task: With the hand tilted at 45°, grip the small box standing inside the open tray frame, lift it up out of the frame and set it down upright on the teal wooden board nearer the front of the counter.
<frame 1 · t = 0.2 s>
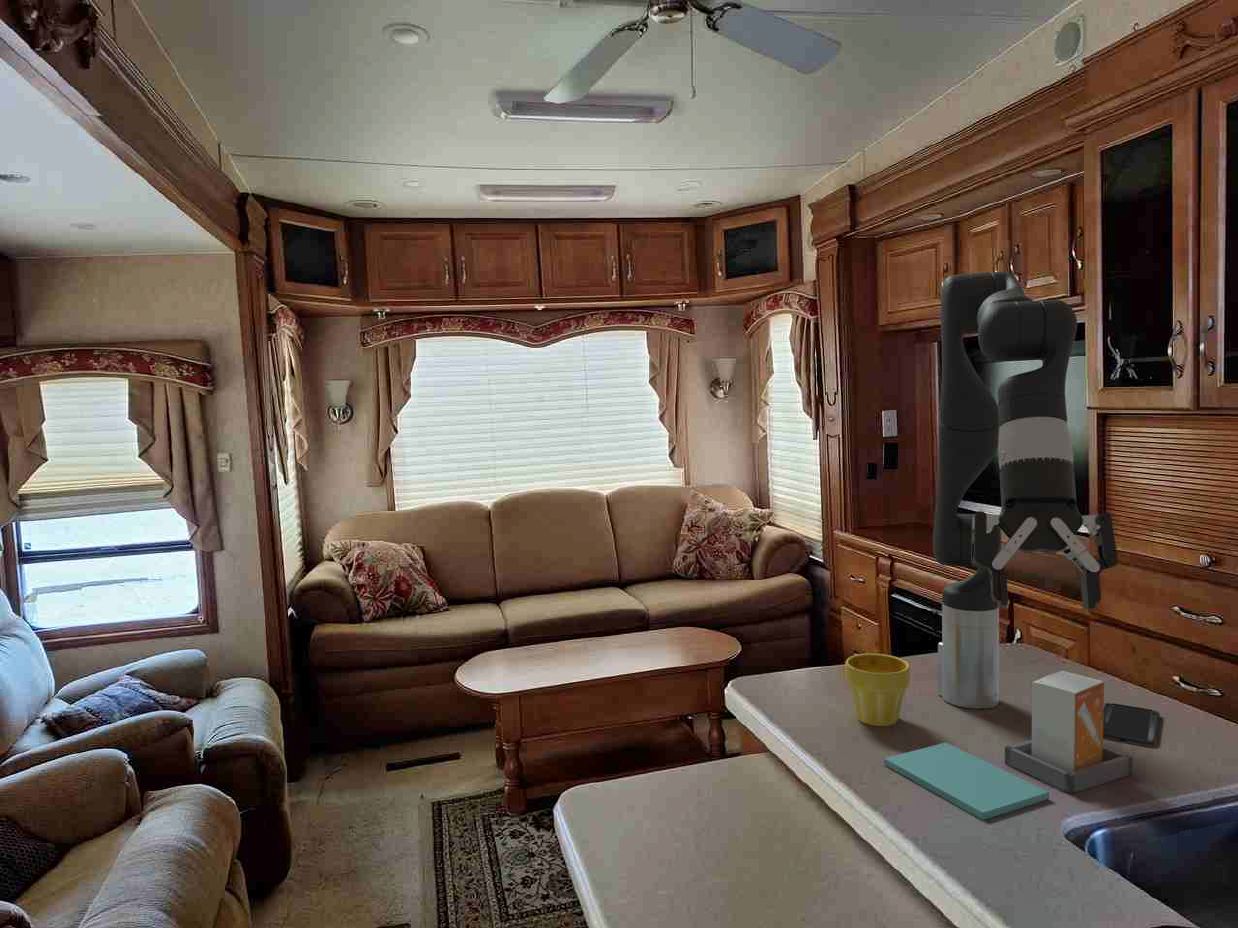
hand: (1045, 607, 89), 31 cm above the counter, tool tilted 20°, fingers open, 8 cm apart
small box: (1067, 770, 118), resting in tray frame
board: (962, 781, 115), on the counter
tray frame: (1067, 768, 118), on the counter
plant pot: (877, 720, 138), on the counter
phone: (1128, 728, 132), on the counter
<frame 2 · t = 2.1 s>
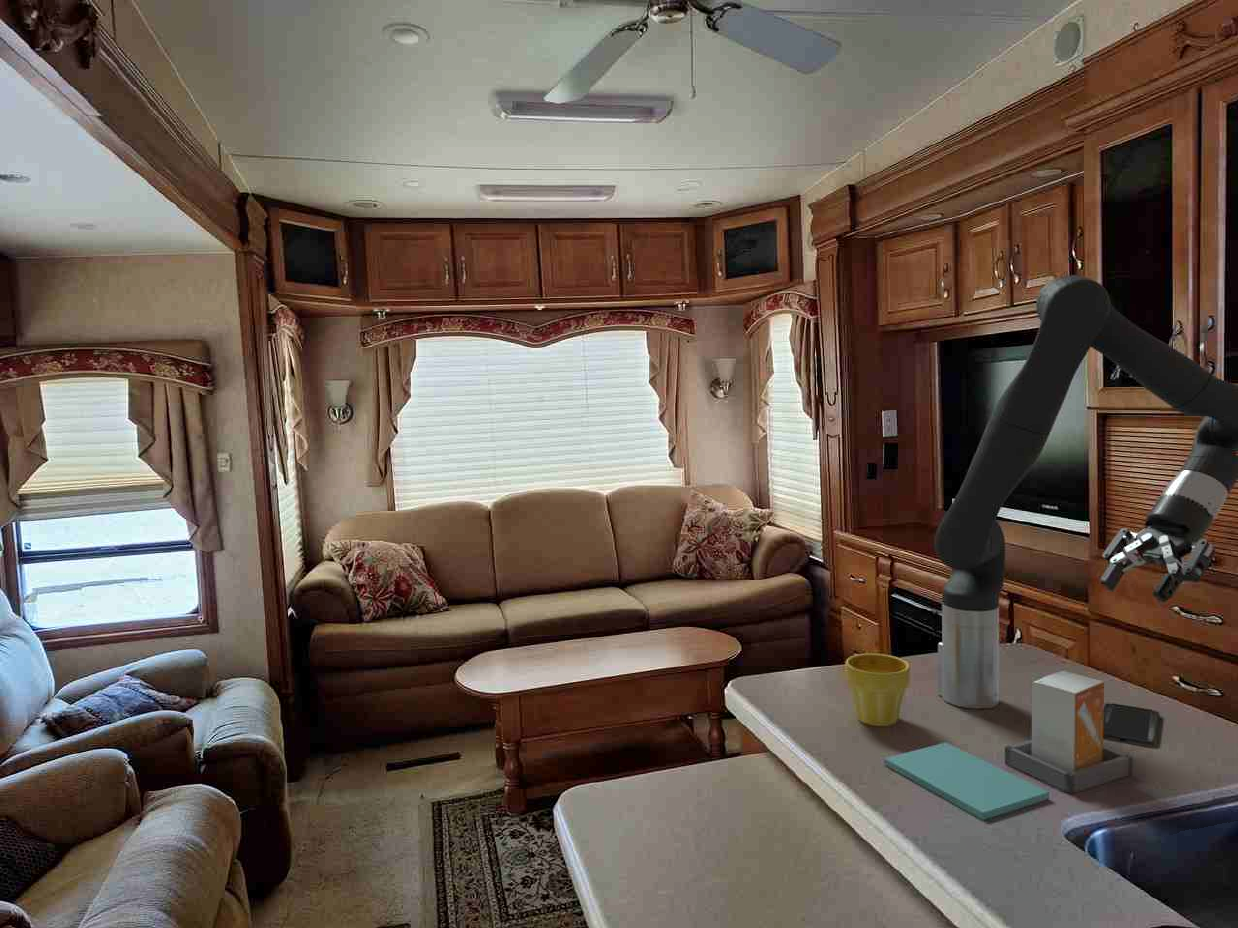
hand: (1131, 592, 121), 24 cm above the counter, tool tilted 45°, fingers open, 8 cm apart
nothing on the counter moved.
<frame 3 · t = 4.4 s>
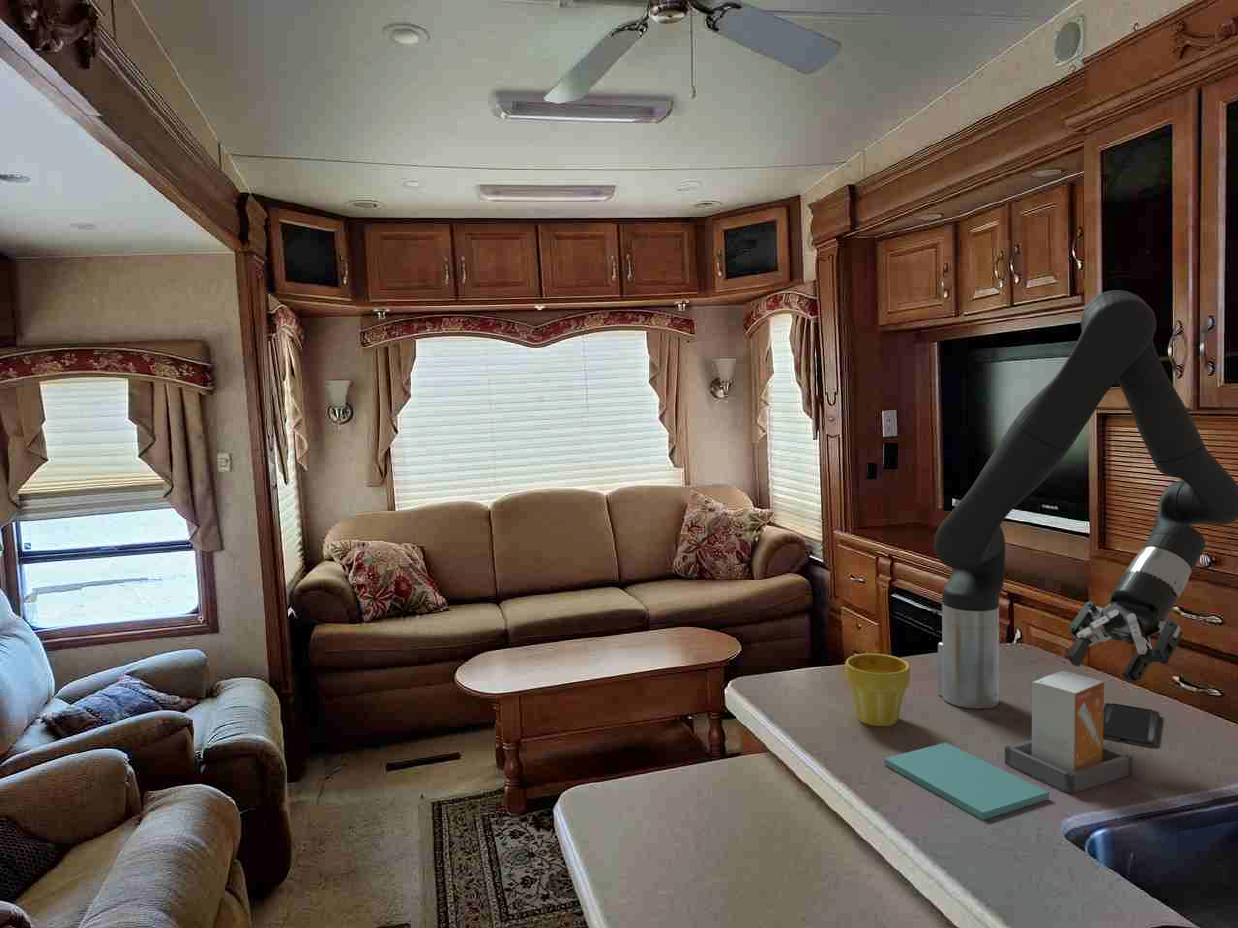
hand: (1099, 671, 120), 13 cm above the counter, tool tilted 45°, fingers open, 8 cm apart
nothing on the counter moved.
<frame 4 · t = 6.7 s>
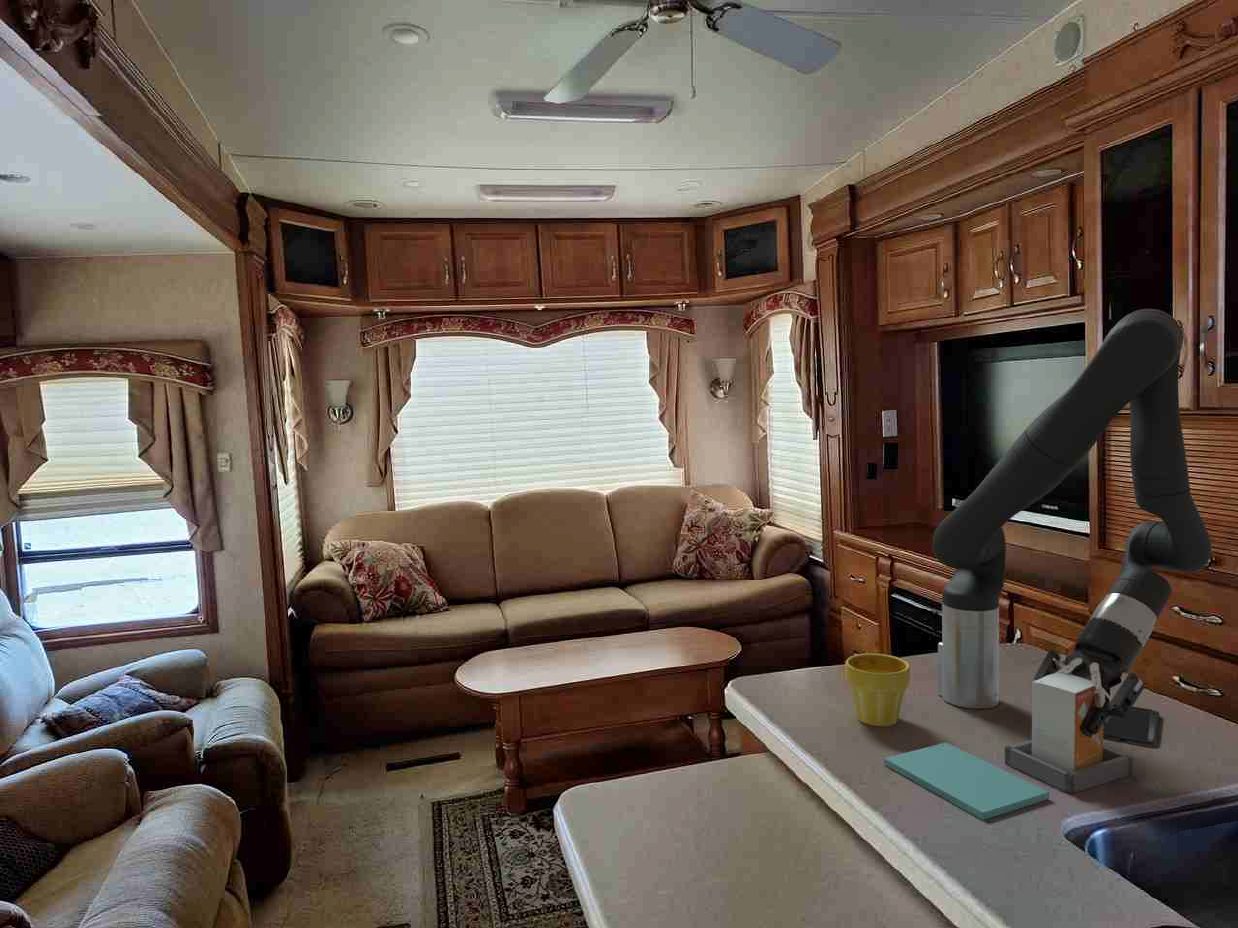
hand: (1060, 723, 117), 7 cm above the counter, tool tilted 45°, fingers closed on small box, 7 cm apart
small box: (1067, 770, 118), resting in tray frame, touching gripper
everything else where it was.
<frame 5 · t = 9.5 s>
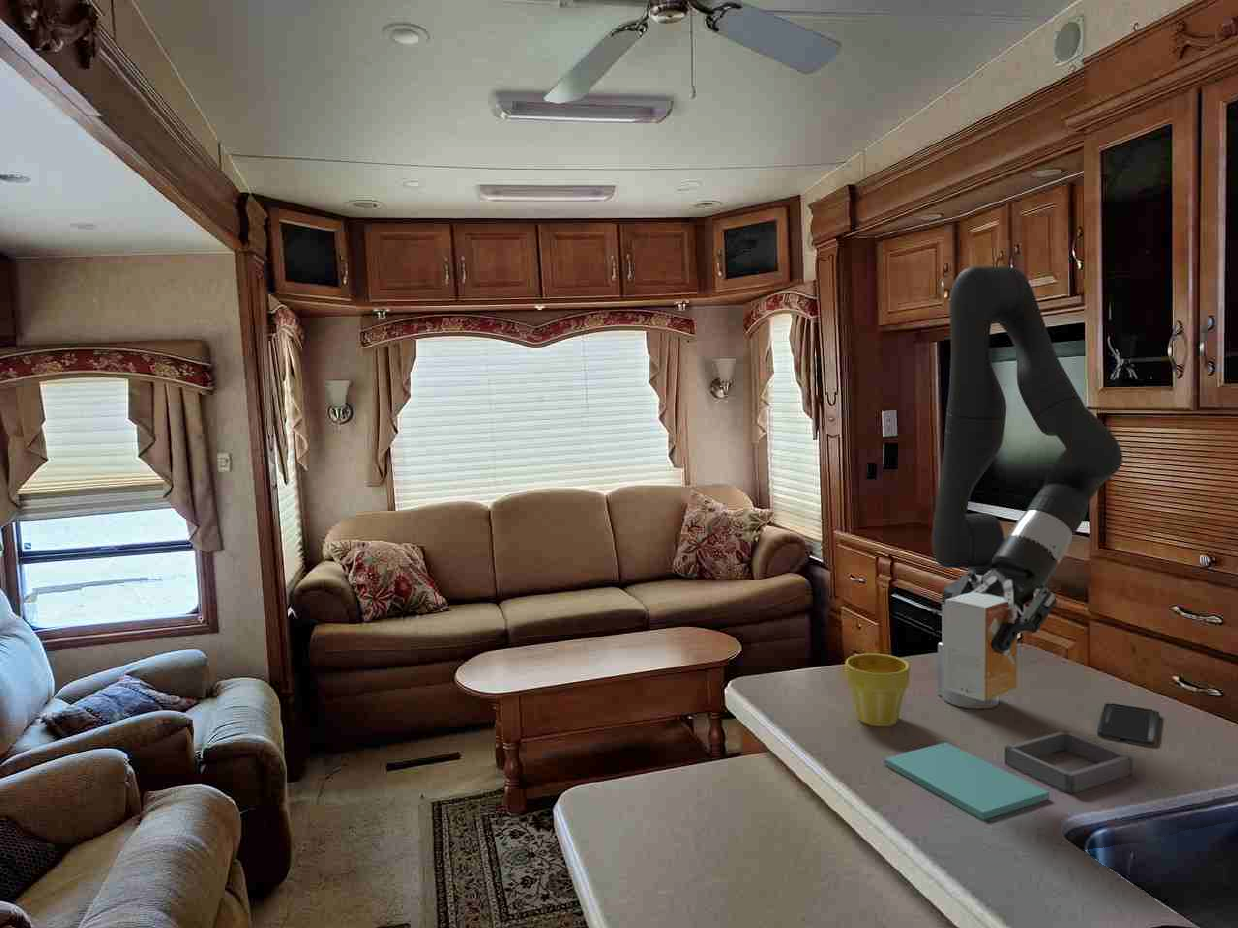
hand: (973, 642, 113), 20 cm above the counter, tool tilted 45°, fingers closed on small box, 7 cm apart
small box: (980, 690, 115), point 13 cm above the counter, touching gripper
everything else where it was.
when the fingers open (9 cm above the counter, at t = 12.4 s): small box drops 1 cm, resting on board.
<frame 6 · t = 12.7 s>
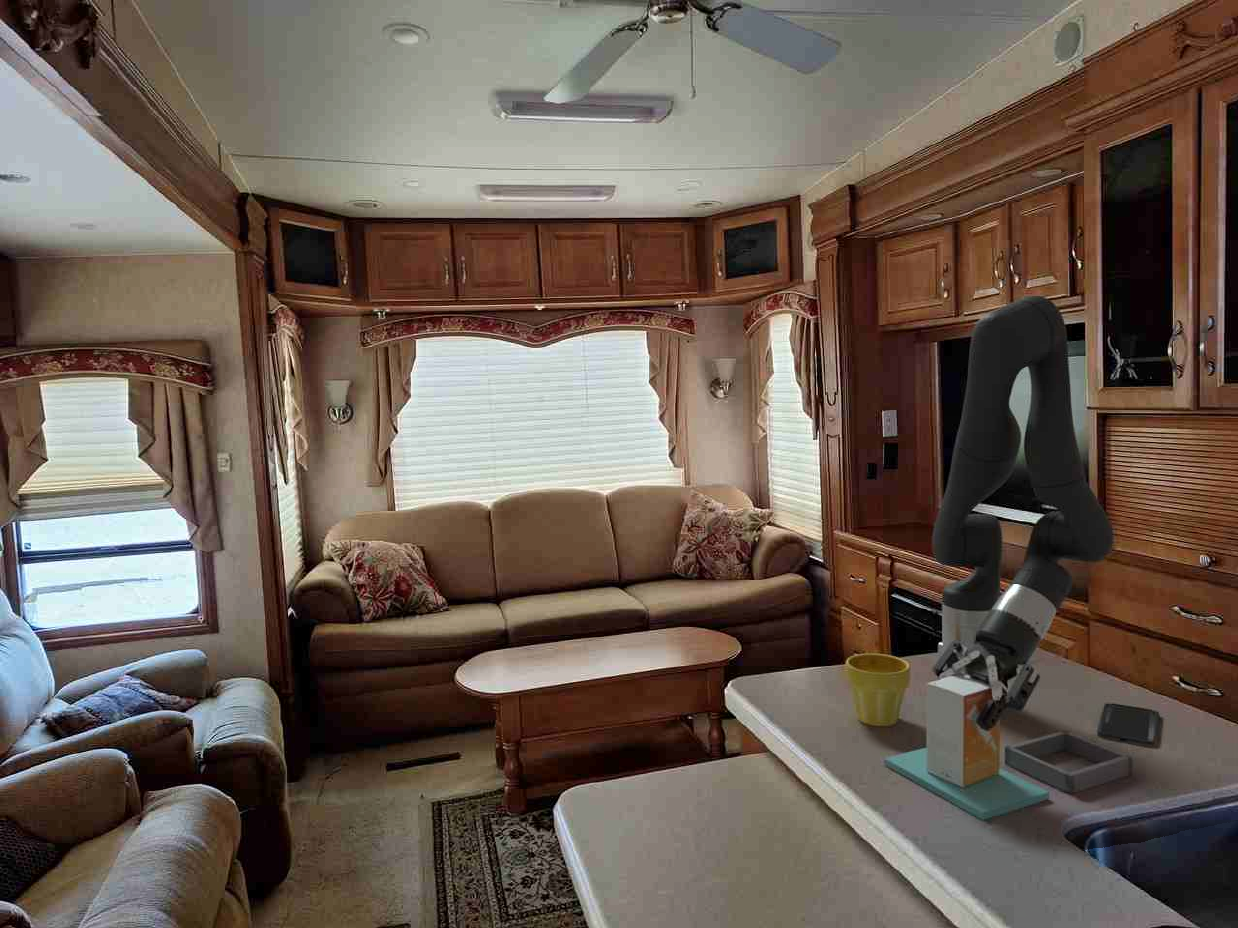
hand: (956, 716, 114), 10 cm above the counter, tool tilted 45°, fingers open, 8 cm apart
small box: (963, 774, 116), point 1 cm above the counter, touching board
everything else where it was.
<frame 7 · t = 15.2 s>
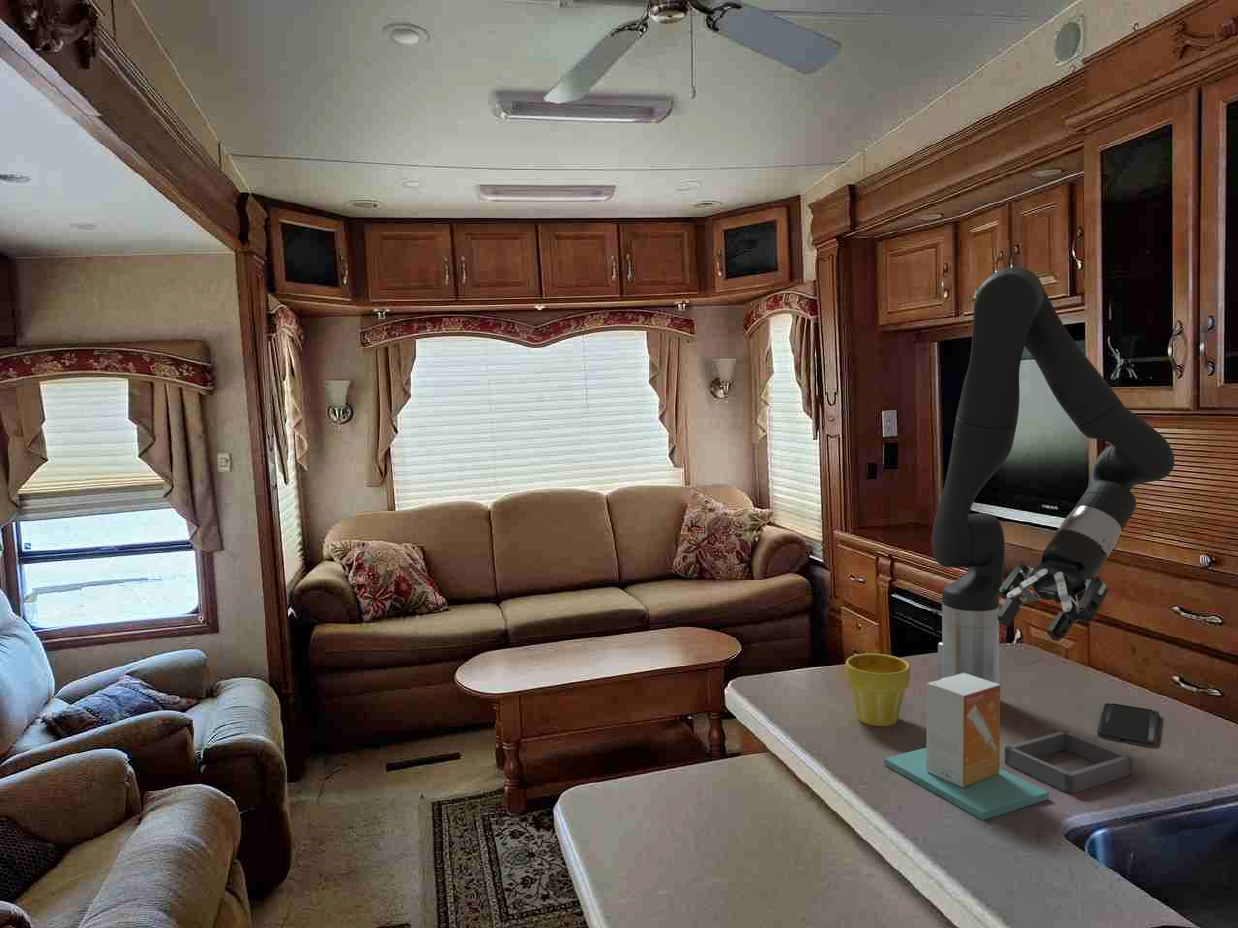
hand: (1026, 629, 118), 20 cm above the counter, tool tilted 45°, fingers open, 8 cm apart
nothing on the counter moved.
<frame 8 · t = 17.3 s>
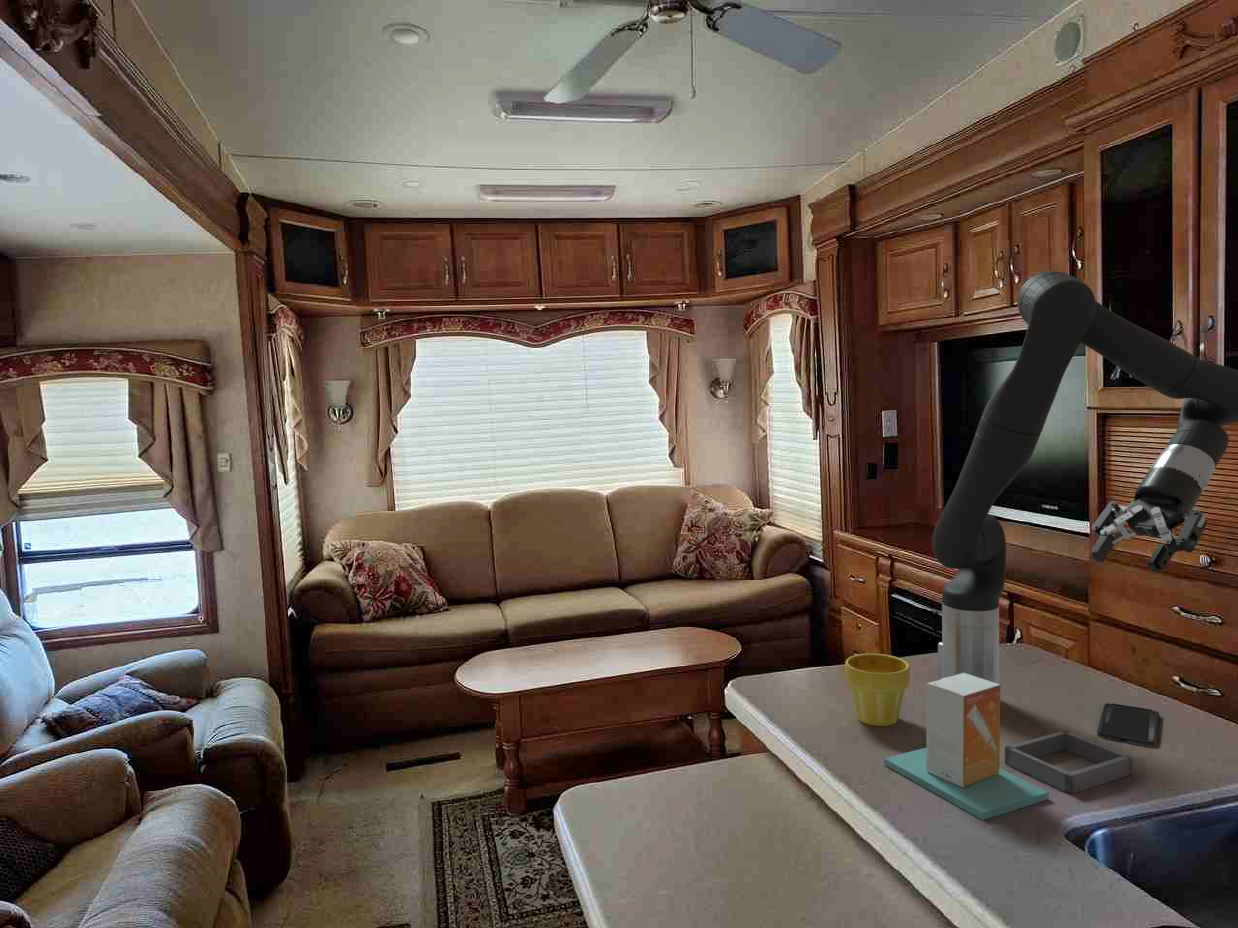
hand: (1123, 563, 120), 29 cm above the counter, tool tilted 45°, fingers open, 8 cm apart
nothing on the counter moved.
at the end: small box inside the target area on the board (0.4 cm from its centre), point 0.8 cm above the board's base; small box tilted 0°; the gripper is holding nothing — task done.
